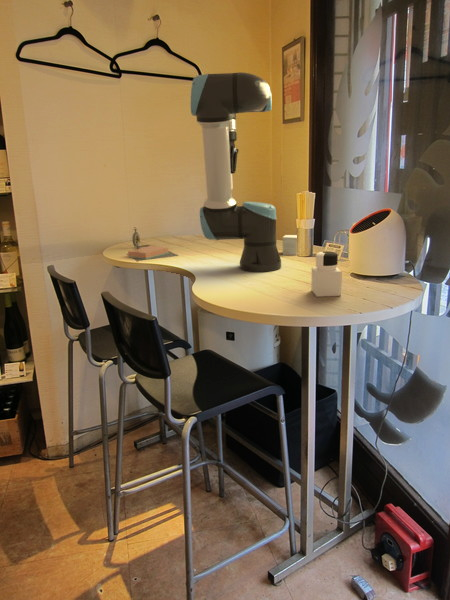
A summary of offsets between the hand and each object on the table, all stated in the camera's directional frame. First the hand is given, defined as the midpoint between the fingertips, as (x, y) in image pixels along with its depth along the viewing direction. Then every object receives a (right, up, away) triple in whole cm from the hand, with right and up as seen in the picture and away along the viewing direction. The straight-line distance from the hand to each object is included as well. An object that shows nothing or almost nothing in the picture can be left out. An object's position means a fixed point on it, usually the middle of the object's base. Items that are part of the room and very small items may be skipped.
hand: (229, 189), depth 202 cm
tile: (-30, -26, +2) cm, 40 cm away
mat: (-33, -29, -2) cm, 44 cm away
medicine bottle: (+28, -46, -66) cm, 85 cm away
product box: (+25, -29, -8) cm, 39 cm away
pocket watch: (-40, -24, +16) cm, 50 cm away
